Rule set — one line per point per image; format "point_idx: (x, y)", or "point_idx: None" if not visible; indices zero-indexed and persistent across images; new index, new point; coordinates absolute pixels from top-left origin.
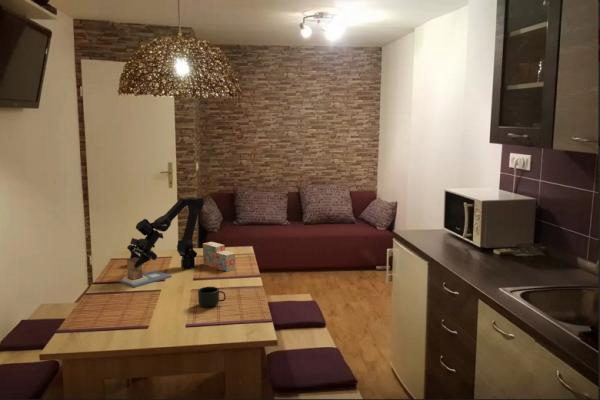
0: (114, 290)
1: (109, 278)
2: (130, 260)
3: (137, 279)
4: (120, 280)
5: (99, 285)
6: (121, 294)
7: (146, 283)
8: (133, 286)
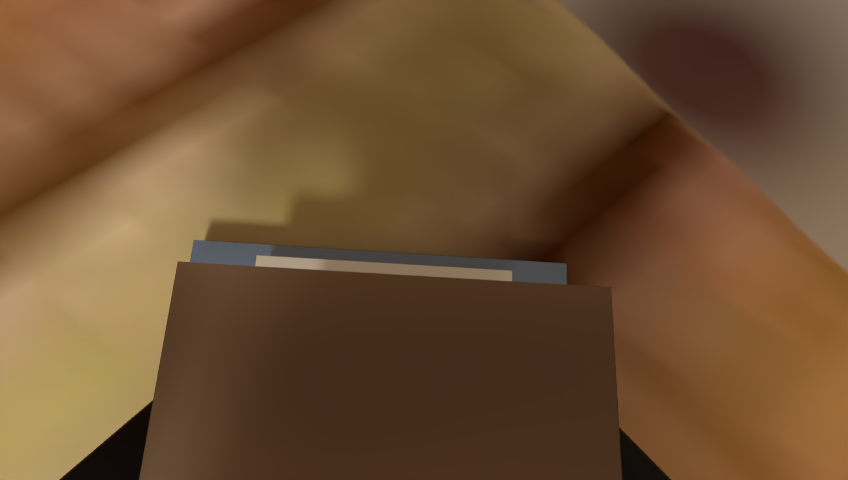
0: (326, 61)
1: (748, 279)
2: (348, 274)
3: None
4: (539, 272)
5: (597, 76)
6: (145, 22)
7: None
8: (223, 244)
